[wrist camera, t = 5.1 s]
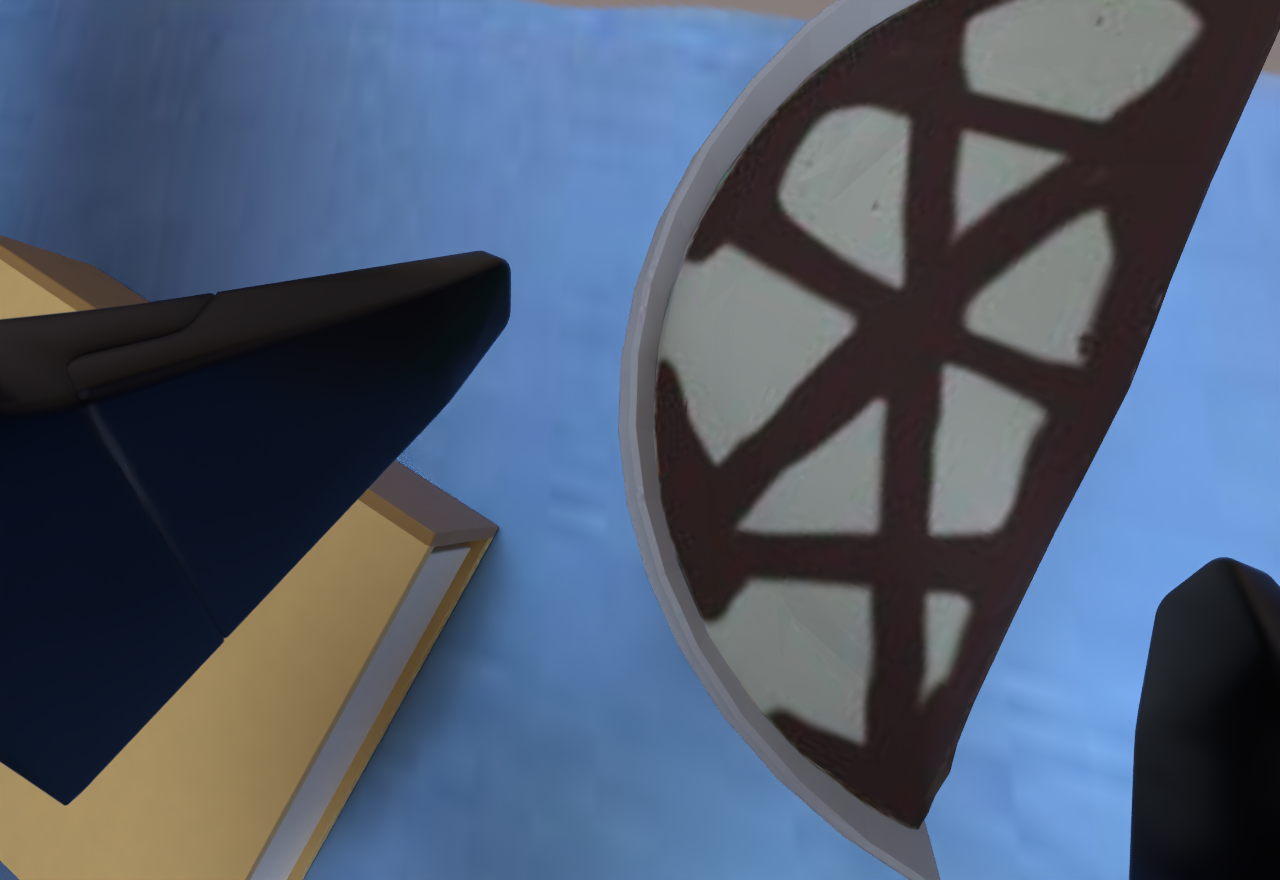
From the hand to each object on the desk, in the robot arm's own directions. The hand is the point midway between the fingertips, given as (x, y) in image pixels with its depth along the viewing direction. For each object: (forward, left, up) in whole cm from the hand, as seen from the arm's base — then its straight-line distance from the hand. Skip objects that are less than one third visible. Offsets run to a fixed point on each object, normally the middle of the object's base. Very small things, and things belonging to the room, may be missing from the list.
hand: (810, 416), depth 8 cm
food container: (0, -1, -9) cm, 9 cm away
